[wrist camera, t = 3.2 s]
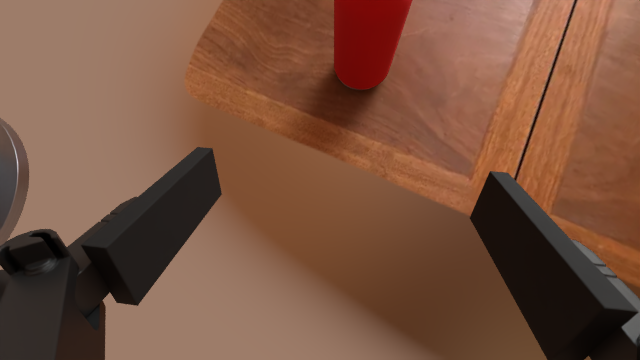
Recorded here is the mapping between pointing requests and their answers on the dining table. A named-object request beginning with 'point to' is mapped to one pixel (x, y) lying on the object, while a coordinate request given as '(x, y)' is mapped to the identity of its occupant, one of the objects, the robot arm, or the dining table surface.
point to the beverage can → (366, 39)
